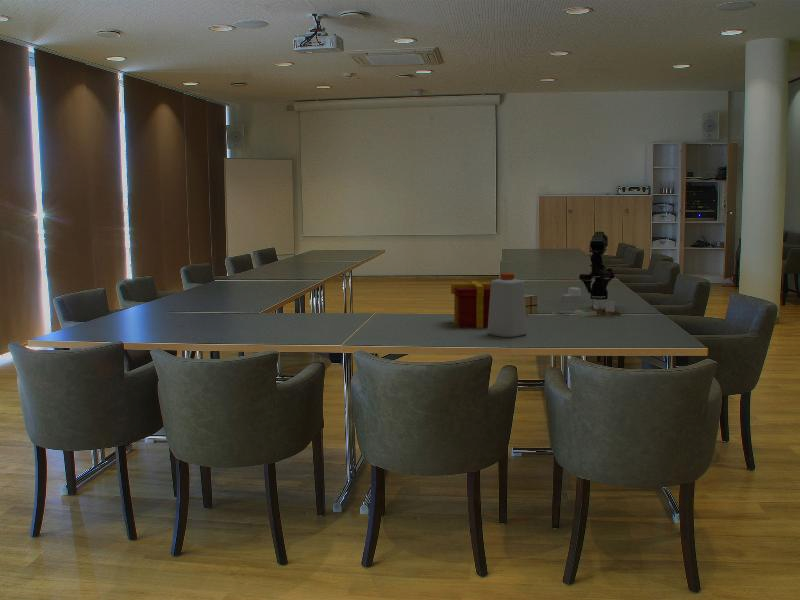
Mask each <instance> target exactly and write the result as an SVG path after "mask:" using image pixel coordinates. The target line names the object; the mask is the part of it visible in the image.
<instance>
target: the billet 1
mask: <svg viewBox="0 0 800 600" xmlns="http://www.w3.org/2000/svg"><path fill="white" fill-rule="evenodd" d="M605 301H607V299H592V309H593V310H597V311H600V310H605Z"/></svg>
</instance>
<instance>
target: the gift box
mask: <svg viewBox="0 0 800 600" xmlns="http://www.w3.org/2000/svg"><path fill="white" fill-rule="evenodd" d="M490 290H491V282H483V283H482V282H478V281H477V280H470V281H469V283H450V294H452V295H453V296H454V297H453V298H454V299H453V301H454V302H453V309H454V314H453V318H454V320H453V322H454V323H453V324H454V326H458V327H459V328H460V329H462V328H463V329H465V328H466V329H467V328H468V329H469V328H476V329H484V328H488V317H489V303H490Z"/></svg>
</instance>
